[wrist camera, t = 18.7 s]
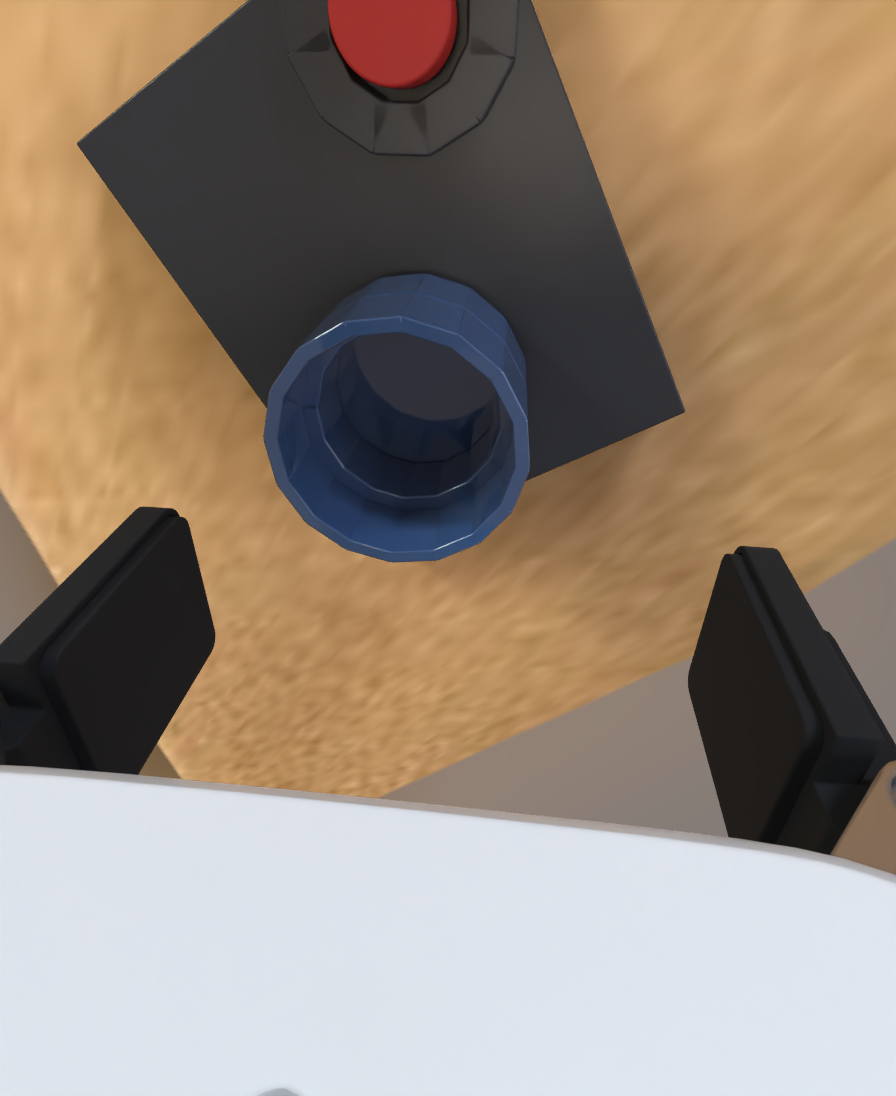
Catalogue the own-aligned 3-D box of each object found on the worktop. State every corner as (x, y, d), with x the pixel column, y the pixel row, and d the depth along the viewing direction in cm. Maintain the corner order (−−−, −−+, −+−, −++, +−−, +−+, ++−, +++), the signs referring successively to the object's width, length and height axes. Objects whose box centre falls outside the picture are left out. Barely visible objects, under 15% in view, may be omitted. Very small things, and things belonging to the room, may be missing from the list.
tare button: (477, 47, 16) (473, 41, 15) (383, 112, 17) (370, 113, 16) (420, -88, 15) (410, -110, 13) (321, -9, 16) (302, -21, 14)
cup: (560, 425, 23) (571, 506, 18) (387, 504, 25) (358, 593, 21) (463, 225, 20) (447, 260, 15) (275, 337, 22) (210, 398, 17)
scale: (674, 392, 24) (696, 431, 21) (376, 524, 28) (359, 572, 25) (462, -170, 16) (450, -230, 13) (100, 129, 21) (33, 133, 18)
